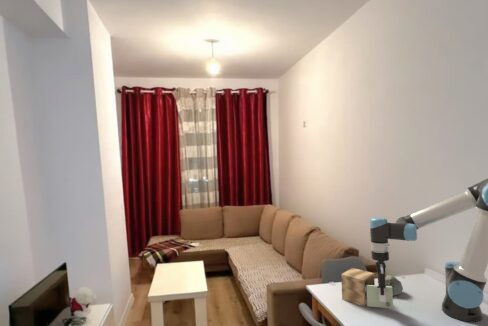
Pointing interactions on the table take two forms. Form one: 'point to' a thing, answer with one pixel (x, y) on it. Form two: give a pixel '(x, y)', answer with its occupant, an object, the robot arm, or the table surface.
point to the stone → (394, 284)
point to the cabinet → (356, 285)
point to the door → (374, 297)
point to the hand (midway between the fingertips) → (382, 301)
